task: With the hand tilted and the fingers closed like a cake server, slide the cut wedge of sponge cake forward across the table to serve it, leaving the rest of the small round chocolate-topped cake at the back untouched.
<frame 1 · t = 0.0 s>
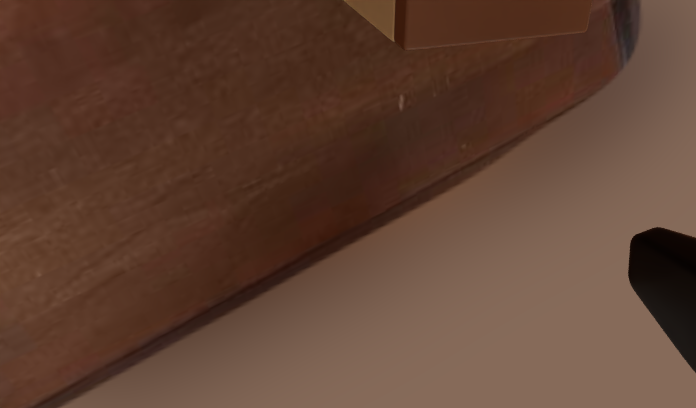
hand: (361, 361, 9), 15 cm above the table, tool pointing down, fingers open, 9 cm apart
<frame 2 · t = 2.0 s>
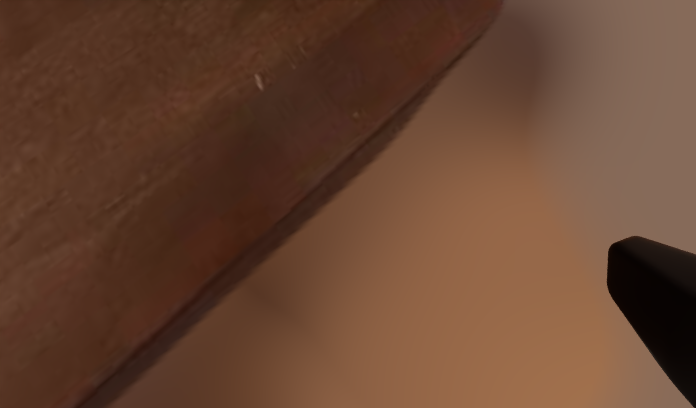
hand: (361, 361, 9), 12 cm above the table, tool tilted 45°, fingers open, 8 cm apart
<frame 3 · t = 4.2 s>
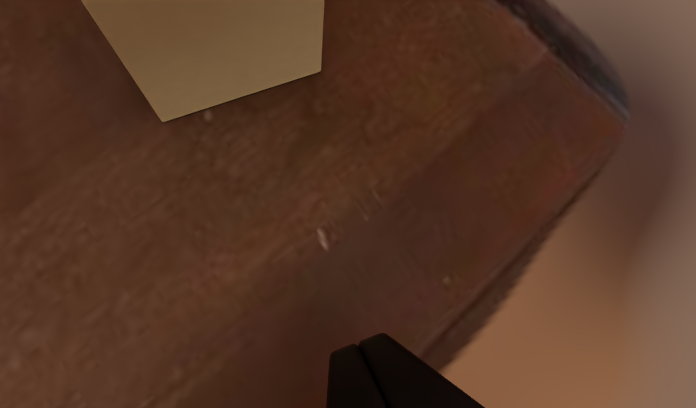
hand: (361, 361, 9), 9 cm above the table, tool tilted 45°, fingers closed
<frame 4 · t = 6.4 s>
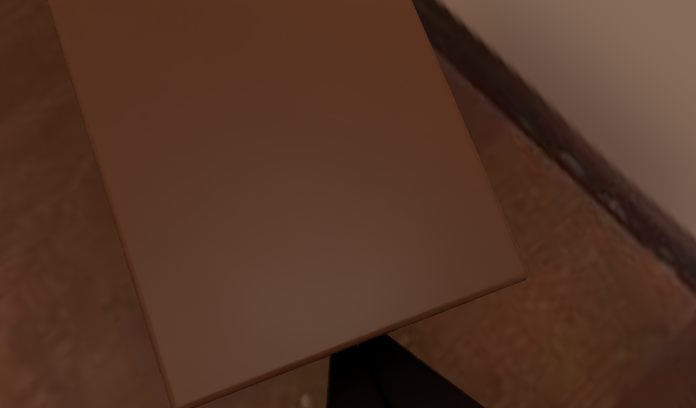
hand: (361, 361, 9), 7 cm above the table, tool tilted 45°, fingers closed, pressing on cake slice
cake slice: (282, 200, 17), on the table, touching gripper
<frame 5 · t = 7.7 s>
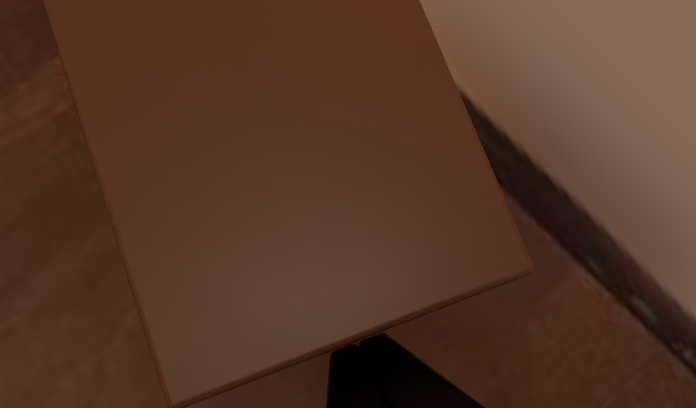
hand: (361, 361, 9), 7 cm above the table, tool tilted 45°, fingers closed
cake slice: (281, 193, 16), on the table
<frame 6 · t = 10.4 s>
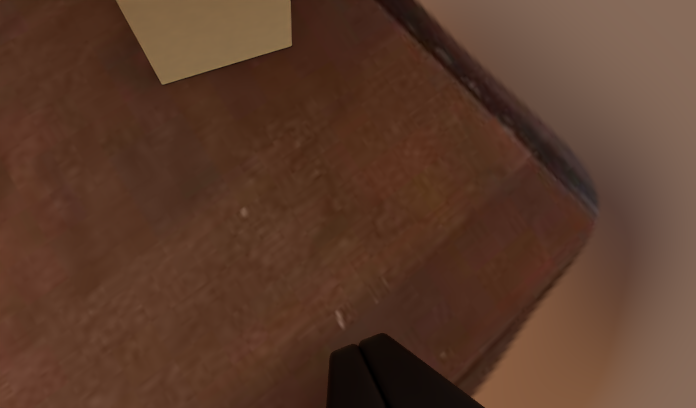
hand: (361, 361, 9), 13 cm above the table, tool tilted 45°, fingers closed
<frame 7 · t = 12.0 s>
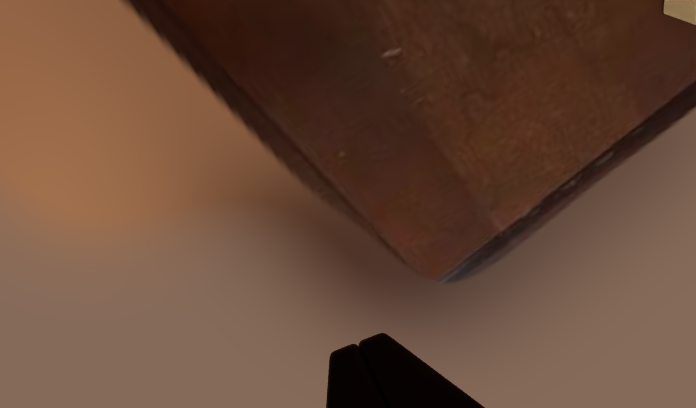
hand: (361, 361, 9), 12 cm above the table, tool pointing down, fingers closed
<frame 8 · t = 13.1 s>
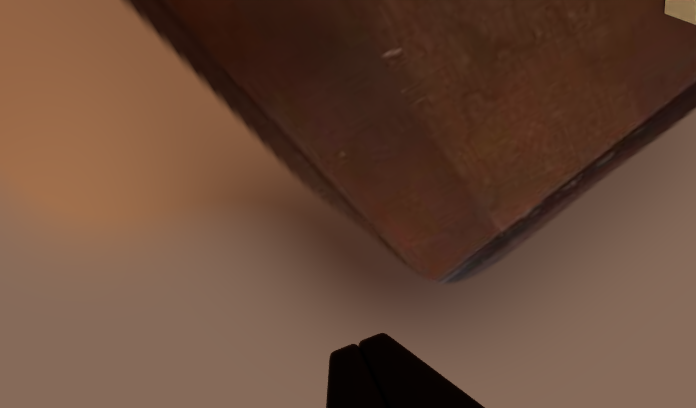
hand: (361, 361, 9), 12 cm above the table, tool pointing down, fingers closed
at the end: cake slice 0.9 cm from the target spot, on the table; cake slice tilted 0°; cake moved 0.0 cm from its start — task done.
